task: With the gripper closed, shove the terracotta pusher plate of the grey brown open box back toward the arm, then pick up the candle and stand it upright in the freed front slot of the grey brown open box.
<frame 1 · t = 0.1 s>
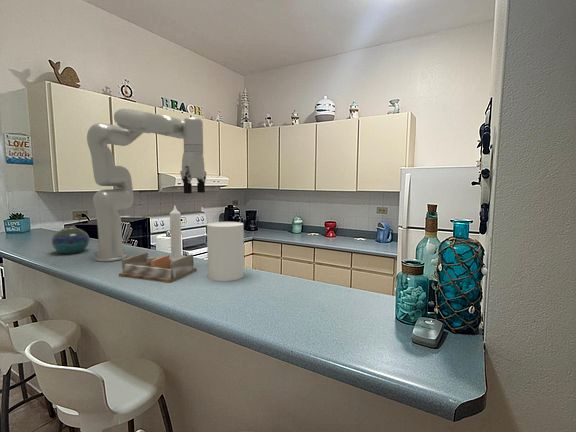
hand: (194, 192, 128), 31 cm above the worktop, tool pointing down, fingers open, 9 cm apart
candle: (176, 260, 143), on the worktop
vase: (71, 252, 157), on the worktop
canister: (226, 276, 121), on the worktop
pusher: (160, 264, 123), point 4 cm above the worktop, slide at 0.0 cm
grey brown open box: (158, 273, 123), on the worktop
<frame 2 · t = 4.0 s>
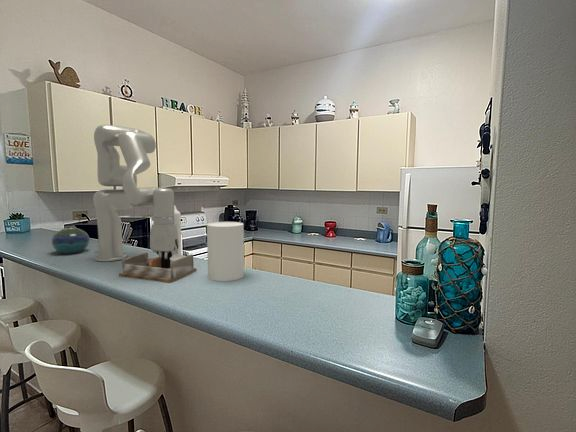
hand: (165, 268, 122), 2 cm above the worktop, tool pointing down, fingers closed
pusher: (158, 263, 123), point 4 cm above the worktop, slide at -0.9 cm, touching gripper
everything else where it was.
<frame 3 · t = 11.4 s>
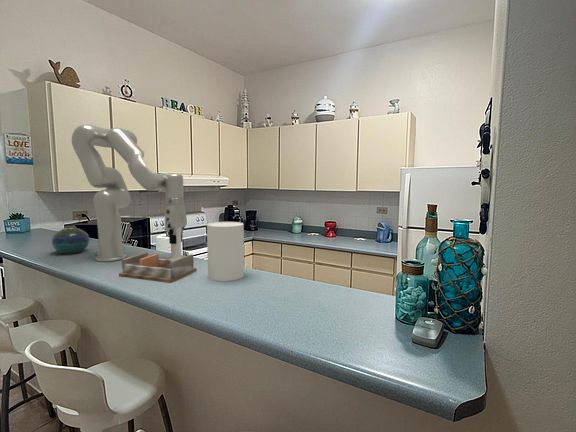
hand: (176, 242, 142), 8 cm above the worktop, tool pointing down, fingers closed on candle, 3 cm apart
candle: (176, 260, 143), on the worktop, touching gripper
pusher: (149, 262, 124), point 4 cm above the worktop, slide at -5.2 cm
everything else where it was.
when the fingers open (11 cm above the worktop, at t = 18.3 s): candle drops 1 cm, resting on grey brown open box.
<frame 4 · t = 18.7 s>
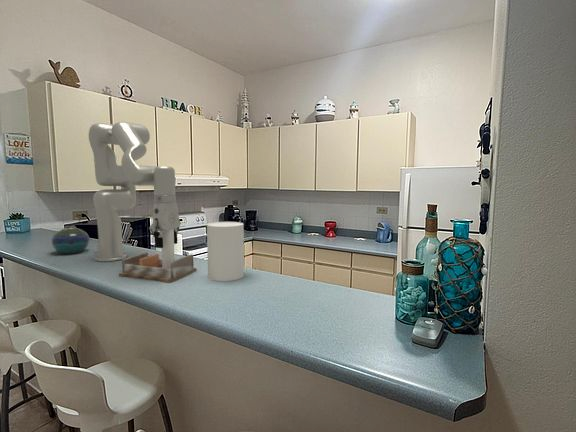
hand: (166, 245, 121), 11 cm above the worktop, tool pointing down, fingers open, 7 cm apart
candle: (168, 271, 123), point 1 cm above the worktop, touching grey brown open box
everything else where it was.
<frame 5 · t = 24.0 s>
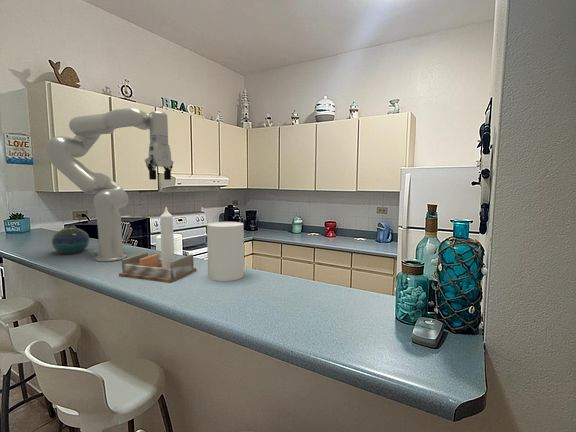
hand: (160, 179, 142), 36 cm above the worktop, tool pointing down, fingers open, 9 cm apart
nothing on the worktop moved.
at the end: candle 0.7 cm from the target spot on the grey brown open box, point 0.8 cm above the grey brown open box's base; candle tilted 0°; pusher slide at -5.2 cm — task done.
